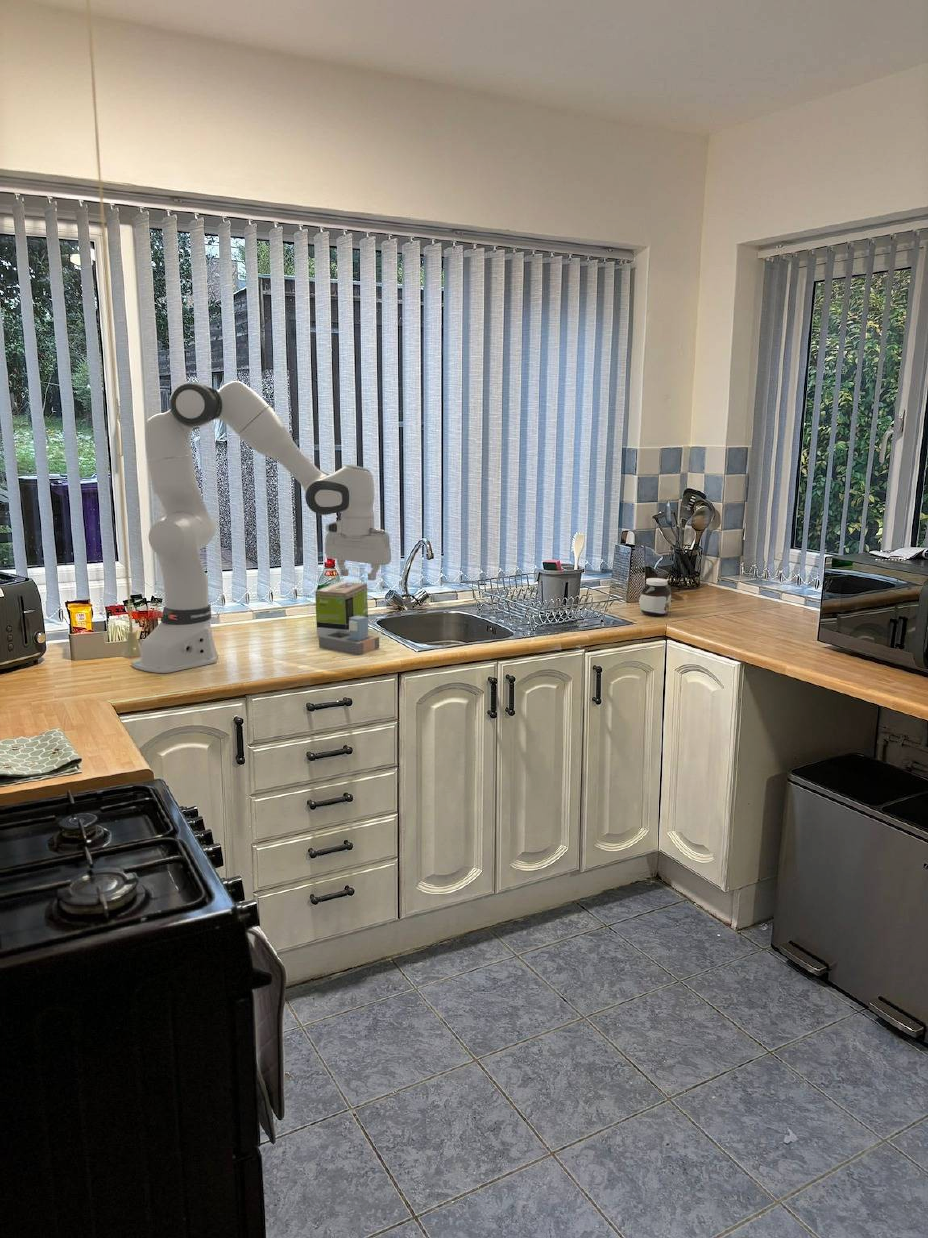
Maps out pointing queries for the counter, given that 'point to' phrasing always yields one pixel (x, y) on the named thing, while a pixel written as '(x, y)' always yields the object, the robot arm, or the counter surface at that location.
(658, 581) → the spread jar
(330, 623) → the tea box
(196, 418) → the robot arm
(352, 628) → the plug peg
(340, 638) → the socket block
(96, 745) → the counter surface
